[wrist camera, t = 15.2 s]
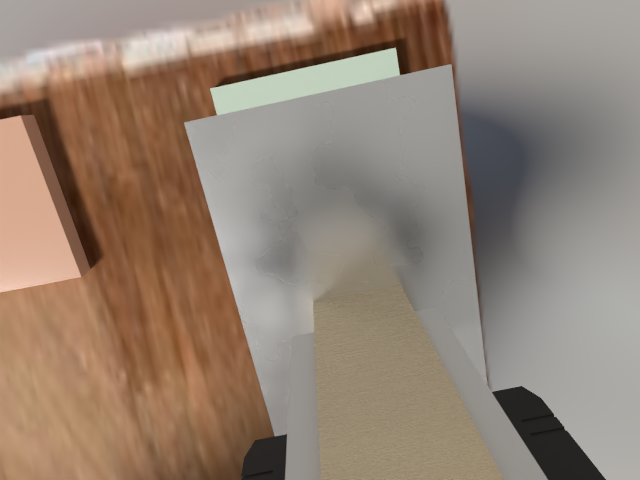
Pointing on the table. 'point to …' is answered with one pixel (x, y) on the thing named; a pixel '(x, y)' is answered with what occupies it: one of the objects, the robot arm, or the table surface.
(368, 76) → the rest mat
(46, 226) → the tile
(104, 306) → the table surface
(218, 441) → the table surface
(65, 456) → the table surface
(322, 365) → the beige post on base
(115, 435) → the table surface
